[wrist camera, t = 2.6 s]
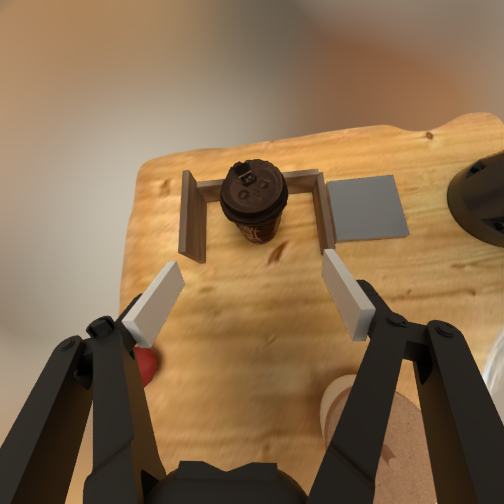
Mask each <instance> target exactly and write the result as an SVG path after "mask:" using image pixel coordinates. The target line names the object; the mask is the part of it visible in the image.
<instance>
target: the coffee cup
mask: <svg viewBox="0 0 504 504" xmlns="http://www.w3.org/2000/svg"><path fill="white" fill-rule="evenodd" d="M287 200H288V187H287V184H286V181H285V179H284V176H283V174H282V173H281V172H280V171H279V169H278V168H277V167H275V166H274V165H273V164H272V163H269V162H268V161H262V160H260V159H256V160H255V159H254V160H246V161H245V162H244V163H241V162H240V161H239V162H237V163H235V164H234V166H233V167H231V168H230V170H229V173H228V174H227V176H226V179H224V180H223V183H222V187H221V191H220V204H221V207H222V210H223V212H224V214H225V216H226V217H227V218H228V219H229V220H230V221H232V222H234V223H236V225H237V227H238V228H239V229H240V230H241V231H242V232H243V234H244V236H245V237H246V238H247V239H248V240H249V241H251V242H253V243H256V244H264V243H267V242H268V241H270V240H271V239H272V238H273V237H274V236H275V234H276V232H277V228H278V226H279V223H280V220H281V215H282V211H283V209H284V208H285V206H286V205H287Z"/></svg>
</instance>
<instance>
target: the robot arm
mask: <svg viewBox="0 0 504 504" xmlns="http://www.w3.org/2000/svg"><path fill="white" fill-rule="evenodd" d="M448 203H449V206H450V209H451V211H452V213H453V215H454V217H455V218H456V220H457V221H458V222H459V223H460V225H461V226H462V227H463V228H465V229H466V230H467V231H468V232H469V233H471V234H472V235H474V236H475V237H477V238H479V239H481V240H483V241H485V242H487V243H490V244H493V245H496V246H501V247H504V150H503V151H500V152H498V153H495V154H493V155H490V156H487V157H485V158H482V159H480V160H478V161H476V162H474V163H473V164H471V165H470V166H468V167H467V168H465V169H464V170H462V171H461V172H460V173H458V174H457V175H456V176H455V177H454V179H453V180H452V182H451V184H450V186H449V189H448ZM322 277H323V279H324V282H325V284H326V286H327V288H328V290H329V292H330V294H331V296H332V299H333V301H334V303H335V305H336V307H337V309H338V311H339V313H340V316H341V318H342V320H343V322H344V324H345V326H346V328H347V330H348V332H349V335H350V337H351V339H352V341H366V338H367V335H368V336H369V338H370V342H369V345H368V347H367V350H366V353H365V355H364V358H363V360H362V363H361V365H360V368H359V370H358V373H357V376H356V378H355V381H354V383H353V386H352V388H351V391H350V393H349V396H348V398H347V401H346V404H345V406H344V409H343V411H342V414H341V416H340V419H339V421H338V424H337V427H336V429H335V432H334V434H333V437H332V439H331V441H330V443H329V446H328V448H327V451H326V453H325V455H324V458H323V461H322V463H321V466H320V468H319V471H318V473H317V476H316V478H315V481H314V483H313V486H312V488H311V491H310V494H309V496H307V494H306V493H305V492H304V490H303V489H302V487H301V486H300V485H299V484H298V483H297V482H296V481H295V480H294V479H293V478H292V477H291V476H289V475H288V474H286V473H285V472H283V471H281V470H279V469H277V463H254V462H252V463H249V464H247V465H244V466H241V467H239V468H236V469H233V470H231V471H228V472H225V471H222V470H220V469H218V468H216V467H214V466H212V465H210V464H207V463H205V462H203V461H180V463H179V467H178V469H176V470H174V471H172V472H170V473H169V474H168V475H166V472H165V469H164V467H163V465H162V463H161V460H160V458H159V454H158V450H157V445H156V441H155V436H154V432H153V427H152V423H151V418H150V414H149V410H148V405H147V401H146V396H145V392H144V387H143V383H142V378H141V374H140V370H139V365H138V361H137V356H136V352H135V350H134V349H133V348H134V346H135V345H136V343H137V344H138V346H139V347H140V348H151V347H152V345H153V343H154V341H155V339H156V338H157V336H158V334H159V332H160V330H161V328H162V326H163V324H164V323H165V321H166V319H167V317H168V315H169V313H170V311H171V309H172V308H173V306H174V304H175V302H176V300H177V298H178V296H179V295H180V293H181V291H182V289H183V287H184V285H185V282H184V280H183V277H182V274H181V272H180V269H179V266H178V264H177V261H168V262H167V264H166V265H165V266H164V267H163V269H162V270H161V271H160V273H159V274H158V275H157V276H156V278H155V279H154V280H153V281H152V283H151V284H150V285H149V287H148V288H147V289H146V290H145V292H144V293H143V294H139V295H138V296H137V297H135V298H134V299H133V301H132V302H131V303H130V305H128V307H127V308H126V309H125V310H124V312H123V313H122V314H121V315H120V316H119V318H118V319H117V320H116V321H115V322H114V321H113V319H112V318H111V317H110V316H103V317H100V318H98V319H96V320H94V321H93V322H92V323H91V324H89V326H88V327H87V329H86V332H87V333H88V334H89V335H90V337H91V338H88V339H85V340H83V339H82V338H81V337H80V336H77V335H76V336H72V337H69V338H68V339H65V340H64V341H62V342H61V343H60V344H59V345H58V346H57V347H56V348H55V349H54V351H53V352H52V354H51V356H50V358H49V360H48V362H47V363H46V365H45V367H44V369H43V371H42V373H41V374H40V376H39V378H38V380H37V382H36V384H35V386H34V387H33V389H32V391H31V393H30V395H29V397H28V398H27V400H26V402H25V404H24V406H23V408H22V409H21V412H20V413H19V415H18V417H17V419H16V420H15V422H14V424H13V426H12V428H11V430H10V431H9V433H8V435H7V437H6V439H5V441H4V443H3V444H2V446H1V448H0V504H65V501H66V497H67V493H68V489H69V486H70V482H71V478H72V475H73V471H74V467H75V463H76V460H77V456H78V453H79V449H80V445H81V442H82V438H83V434H84V431H85V427H86V423H87V419H88V416H89V412H90V408H91V405H92V401H93V470H92V473H91V474H90V475H89V476H88V477H87V478H86V480H85V483H84V489H83V504H373V501H374V495H375V488H376V486H375V478H376V473H377V469H378V464H379V460H380V455H381V451H382V447H383V442H384V438H385V433H386V429H387V425H388V420H389V416H390V412H391V407H392V403H393V398H394V394H395V390H396V385H397V381H398V376H399V372H400V368H401V363H402V359H406V360H410V361H412V362H413V367H414V373H415V379H416V384H417V390H418V396H419V402H420V407H421V413H422V419H423V424H424V430H425V436H426V441H427V447H428V453H429V458H430V464H431V470H432V475H433V481H434V487H435V493H436V498H437V504H504V426H503V423H502V421H501V419H500V416H499V414H498V412H497V410H496V407H495V405H494V403H493V401H492V398H491V396H490V394H489V392H488V389H487V387H486V385H485V383H484V380H483V378H482V376H481V374H480V371H479V369H478V367H477V365H476V363H475V360H474V358H473V356H472V354H471V351H470V349H469V347H468V345H467V342H466V340H465V338H464V336H463V334H462V333H461V331H459V330H458V329H457V328H456V327H454V326H453V325H451V324H449V323H446V322H443V321H439V320H432V321H430V322H428V324H427V325H421V324H416V323H411V322H408V321H407V320H406V319H405V318H404V317H403V316H401V315H399V314H397V313H394V312H392V311H391V309H390V308H389V307H388V306H387V304H386V303H385V302H384V301H383V299H382V298H381V297H380V296H379V295H378V293H377V292H376V291H375V289H374V288H373V287H372V285H371V284H369V283H368V282H366V281H365V280H355V279H354V277H353V276H352V275H351V273H350V272H349V270H348V269H347V267H346V266H345V265H344V263H343V262H342V260H341V259H340V257H339V256H338V255H337V253H336V252H335V250H334V249H324V254H323V265H322Z"/></svg>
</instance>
